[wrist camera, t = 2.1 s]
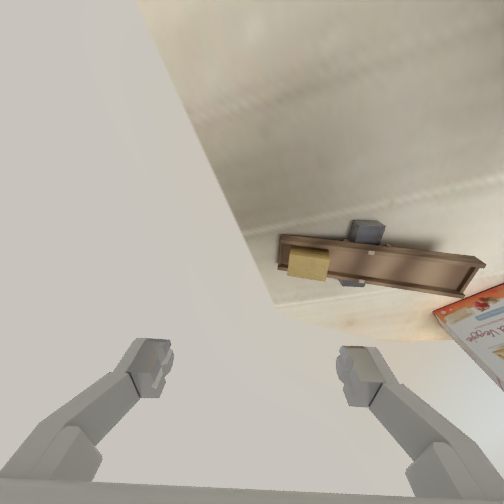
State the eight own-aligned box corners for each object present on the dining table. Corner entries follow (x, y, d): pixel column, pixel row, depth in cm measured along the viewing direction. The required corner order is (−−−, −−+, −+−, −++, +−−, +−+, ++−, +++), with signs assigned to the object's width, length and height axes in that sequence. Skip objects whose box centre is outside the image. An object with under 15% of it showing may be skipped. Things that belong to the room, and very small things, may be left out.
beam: (469, 253, 29) (486, 265, 26) (449, 284, 32) (463, 299, 29) (282, 232, 36) (279, 239, 33) (280, 260, 39) (277, 269, 36)
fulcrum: (377, 220, 33) (385, 226, 31) (358, 279, 38) (364, 287, 36) (353, 220, 33) (359, 225, 31) (337, 278, 39) (342, 286, 36)
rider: (328, 248, 33) (330, 259, 29) (324, 268, 34) (325, 281, 31) (292, 243, 34) (289, 254, 31) (289, 263, 36) (287, 275, 32)
